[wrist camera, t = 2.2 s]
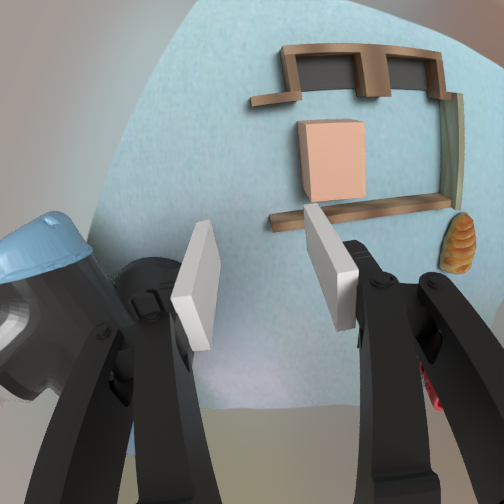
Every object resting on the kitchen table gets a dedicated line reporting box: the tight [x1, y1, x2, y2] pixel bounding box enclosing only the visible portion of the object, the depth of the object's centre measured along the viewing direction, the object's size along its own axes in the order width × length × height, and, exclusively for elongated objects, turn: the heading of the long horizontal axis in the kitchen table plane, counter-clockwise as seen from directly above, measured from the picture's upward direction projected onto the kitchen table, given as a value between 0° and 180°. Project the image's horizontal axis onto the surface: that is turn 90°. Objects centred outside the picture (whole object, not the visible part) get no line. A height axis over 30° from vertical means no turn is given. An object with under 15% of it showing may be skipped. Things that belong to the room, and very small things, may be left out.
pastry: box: [440, 213, 476, 274], centre depth 36 cm, size 9×7×4 cm
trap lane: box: [250, 43, 465, 233], centre depth 28 cm, size 25×20×4 cm
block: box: [297, 119, 366, 202], centre depth 30 cm, size 6×8×5 cm
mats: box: [295, 55, 428, 91], centre depth 27 cm, size 17×4×1 cm, turn 99°
